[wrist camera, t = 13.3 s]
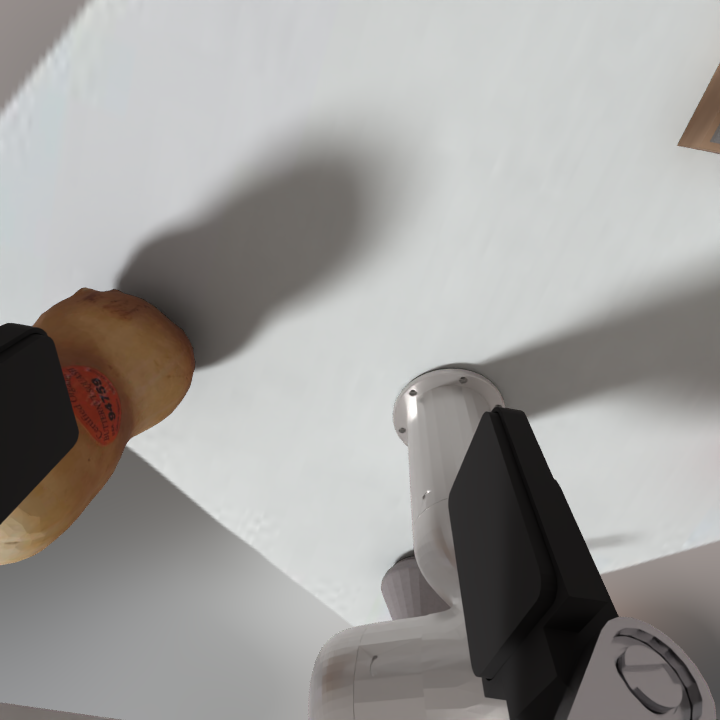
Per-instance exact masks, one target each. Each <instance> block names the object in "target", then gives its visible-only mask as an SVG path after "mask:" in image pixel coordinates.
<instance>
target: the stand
mask: <svg viewBox="0 0 720 720" xmlns="http://www.w3.org/2000/svg"><path fill="white" fill-rule="evenodd" d="M677 146H682V147H687V148H692V149H698V150H703V151H708V152H713V153H718V154H720V64H719V66H718V68H717V70H716V72H715V74H714V75H713V77H712V79H711V81H710V83H709V85H708V87H707V89H706V91H705V93H704V95H703V97H702V99H701V101H700V102H699V104H698V106H697V108H696V110H695V112H694V114H693V116H692V118H691V120H690V122H689V124H688V126H687V128H686V129H685V131H684V133H683V135H682V137H681V139H680V141H679V143H678V145H677Z"/></svg>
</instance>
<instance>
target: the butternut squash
mask: <svg viewBox="0 0 720 720" xmlns="http://www.w3.org/2000/svg"><path fill="white" fill-rule="evenodd" d="M32 327H38V328H41V329H43V330H44V331H45V332H46V333H47V335H48V337H51V338H52V339H53V341H54V343H55V347H56V350H57V354H58V358H59V361H60V365H61V368H62V372H63V375H64V379H65V383H66V386H67V390H68V393H69V397H70V401H71V404H72V408H73V411H74V415H75V419H76V422H77V426H78V429H79V436H78V440H77V442H76V444H75V445H74V447H73V448H72V449H71V450H70V451H69V452H68V453H67V454H66V455H65V456H64V458H63V459H62V460H61V461H60V462H59V463H58V464H57V465H56V466H55V467H54V468H53V469H52V470H51V471H50V472H49V473H48V475H47V476H46V477H45V478H44V479H43V480H42V481H41V482H40V483H39V484H38V485H37V486H36V487H35V488H34V489H33V491H32V492H31V493H30V494H29V495H28V496H27V497H26V498H25V499H24V500H23V501H22V502H21V503H20V504H19V505H18V507H17V508H16V509H15V510H14V511H13V512H12V513H11V514H10V515H9V516H8V517H7V518H6V519H5V520H4V521H3V523H2V524H1V525H0V565H4V564H9V563H14V562H18V561H20V560H23V559H26V558H28V557H31V556H34V555H35V554H37V553H38V552H40V551H42V550H43V549H44V548H46V547H47V546H48V545H50V544H51V543H52V542H53V541H54V540H56V539H57V538H58V537H59V536H60V535H61V534H62V533H64V532H65V531H66V530H67V529H68V528H69V527H70V525H72V523H73V522H74V521H75V520H76V519H77V518H78V517H79V516H80V514H81V513H82V512H83V511H84V509H85V508H86V506H88V504H89V503H90V502H91V500H92V499H93V498H94V497H95V496H96V495H97V493H98V492H99V491H100V490H101V489H102V488H103V486H104V485H105V484H106V482H107V481H108V479H109V478H110V477H111V475H112V474H113V472H114V470H115V468H116V466H117V464H118V462H119V460H120V458H121V455H122V453H123V451H124V448H125V446H126V444H127V442H128V441H129V440H130V439H131V438H132V437H134V436H136V435H138V434H140V433H142V432H144V431H145V430H147V429H149V428H151V427H153V426H154V425H156V424H158V423H159V422H161V421H162V420H163V419H165V418H166V417H167V416H169V415H170V414H171V413H172V412H173V411H174V410H175V408H176V407H177V406H178V405H179V404H180V402H181V401H182V399H183V398H184V396H185V395H186V393H187V391H188V389H189V388H190V385H191V381H192V376H193V372H194V369H195V359H194V352H193V347H192V345H191V343H190V341H189V339H188V337H187V336H186V334H185V332H184V331H183V330H182V329H181V328H179V327H178V326H177V325H176V324H174V323H173V322H172V321H171V320H170V319H168V318H167V317H166V316H165V315H164V314H163V313H162V312H160V311H159V310H158V309H157V308H156V307H155V306H153V305H151V304H150V303H148V302H146V301H145V300H144V299H142V298H139V297H135V296H132V295H128V294H124V293H122V292H121V291H119V290H116V289H113V290H110V291H104V292H100V291H96V290H93V289H89V288H81V289H80V290H78V291H77V292H76V293H75V294H74V295H72V296H71V297H69V298H67V299H65V300H63V301H61V302H59V303H57V304H56V305H54V306H52V307H51V308H50V309H49V310H47V311H46V312H44V313H43V314H42V315H41V316H40V317H39V319H38V320H37V321H36V322H35V324H34V325H33V326H32Z"/></svg>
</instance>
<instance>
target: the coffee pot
mask: <svg viewBox="0 0 720 720" xmlns="http://www.w3.org/2000/svg"><path fill="white" fill-rule="evenodd" d="M381 591H382V594H383V596H384V599H385V602H386V604H387V607H388V609H389V612H390V614H391V617H392V620H399V619H406V618H413V617H419V616H426V615H429V614H433V613H438V612H442V611H446V610H448V609H450V608H451V607H450V606H449V605H448V604H447V603H446V602H445V601H444V600H443V599H442V598H441V597H440V596H439V595H438V594H437V593H436V592H435V591H434V589H433V588H432V587H431V586H430V585H429V583H428V582H427V581H426V579H425V578H424V576H423V575H422V573H421V571H420V568H419V566H418V564H417V561H416V557H408V558H404V559H402V560H400V561H399V562H397V563H396V564H395V565H394V566H393V567H391V568H390V569H389V570H388V571H387V573H386V574H385V576H384V578H383V580H382V584H381Z"/></svg>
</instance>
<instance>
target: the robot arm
mask: <svg viewBox="0 0 720 720" xmlns="http://www.w3.org/2000/svg"><path fill="white" fill-rule="evenodd" d="M393 423H394V427H395V430H396V432H397V434H398V436H399V438H400V439H401V440H402V441H403V443H404V444H405V445H407V446H408V455H409V474H410V493H411V512H412V532H413V546H414V553H415V557H416V561H417V564H418V566H419V568H420V571H421V573H422V575H423V576H424V578H425V579H426V581H427V582H428V583H429V585H430V586H431V587H432V588H433V589H434V591H435V592H436V593H437V594H438V595H439V596H440V597H441V598H442V599H443V600H444V601H445V602H446V603H447V604H448V605H449V606H450V607H451V608H450V609H448V610H446V611H442V612H438V613H433V614H429V615H426V616H419V617H413V618H406V619H399V620H392V621H385V622H378V623H372V624H367V625H361V626H357V627H352V628H349V629H346V630H343V631H341V632H339V633H337V634H335V635H334V636H333V637H331V638H330V639H329V640H328V641H327V642H326V643H325V645H324V646H323V647H322V649H321V651H320V652H319V654H318V657H317V659H316V661H315V664H314V668H313V672H312V676H311V682H310V689H309V705H308V707H309V709H308V715H309V716H308V717H309V720H717V719H716V711H715V703H714V701H713V698H712V695H711V693H710V690H709V687H708V685H707V683H706V682H705V680H704V678H703V677H702V675H701V674H700V672H699V670H698V668H697V667H696V665H695V664H694V663H693V662H692V661H691V659H690V658H689V657H688V656H687V655H686V654H685V652H684V651H683V650H682V649H681V648H680V647H679V646H678V645H677V644H676V643H675V642H673V641H672V640H671V639H670V638H669V637H668V636H666V635H665V634H664V633H663V632H661V631H659V630H658V629H656V628H655V627H653V626H651V625H650V624H648V623H645V622H643V621H640V620H637V619H635V618H630V617H619V616H618V614H617V612H616V610H615V608H614V605H613V603H612V601H611V599H610V596H609V594H608V592H607V590H606V587H605V585H604V583H603V581H602V579H601V576H600V574H599V572H598V570H597V567H596V565H595V563H594V561H593V559H592V556H591V554H590V552H589V550H588V547H587V545H586V543H585V541H584V539H583V536H582V534H581V532H580V530H579V527H578V525H577V523H576V521H575V519H574V516H573V514H572V512H571V510H570V507H569V505H568V503H567V501H566V498H565V496H564V494H563V492H562V490H561V487H560V486H559V484H558V483H557V481H556V480H555V479H554V478H553V476H552V474H551V471H550V469H549V467H548V465H547V462H546V460H545V458H544V456H543V453H542V451H541V449H540V447H539V444H538V442H537V440H536V438H535V435H534V433H533V431H532V428H531V426H530V424H529V422H528V419H527V417H526V415H525V413H524V412H523V411H521V410H515V409H509V408H505V403H504V401H503V398H502V395H501V394H500V392H499V390H498V389H497V387H496V386H495V385H494V384H493V383H492V382H491V381H490V380H488V379H487V378H485V377H484V376H482V375H480V374H477V373H475V372H472V371H468V370H463V369H441V370H436V371H432V372H428V373H426V374H424V375H422V376H419V377H417V378H416V379H414V380H413V381H411V382H410V383H409V384H408V385H407V386H406V387H405V388H404V389H403V390H402V391H401V393H400V394H399V395H398V397H397V399H396V402H395V404H394V410H393ZM78 436H79V429H78V426H77V422H76V419H75V415H74V411H73V408H72V404H71V401H70V397H69V393H68V390H67V386H66V383H65V379H64V375H63V372H62V368H61V365H60V361H59V358H58V354H57V350H56V347H55V343H54V341H53V339H52V338H51V337H48V335H47V333H46V332H45V331H44V330H43V329H41V328H38V327H32V326H27V325H21V324H15V323H7V324H4V325H2V326H0V525H1V524H2V523H3V521H4V520H5V519H6V518H7V517H8V516H9V515H10V514H11V513H12V512H13V511H14V510H15V509H16V508H17V507H18V505H19V504H20V503H21V502H22V501H23V500H24V499H25V498H26V497H27V496H28V495H29V494H30V493H31V492H32V491H33V489H34V488H35V487H36V486H37V485H38V484H39V483H40V482H41V481H42V480H43V479H44V478H45V477H46V476H47V475H48V473H49V472H50V471H51V470H52V469H53V468H54V467H55V466H56V465H57V464H58V463H59V462H60V461H61V460H62V459H63V458H64V456H65V455H66V454H67V453H68V452H69V451H70V450H71V449H72V448H73V447H74V445H75V444H76V442H77V440H78ZM0 720H120V719H113V718H106V717H99V716H92V715H85V714H78V713H71V712H64V711H57V710H50V709H43V708H36V707H29V706H22V705H15V704H7V703H0Z"/></svg>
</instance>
